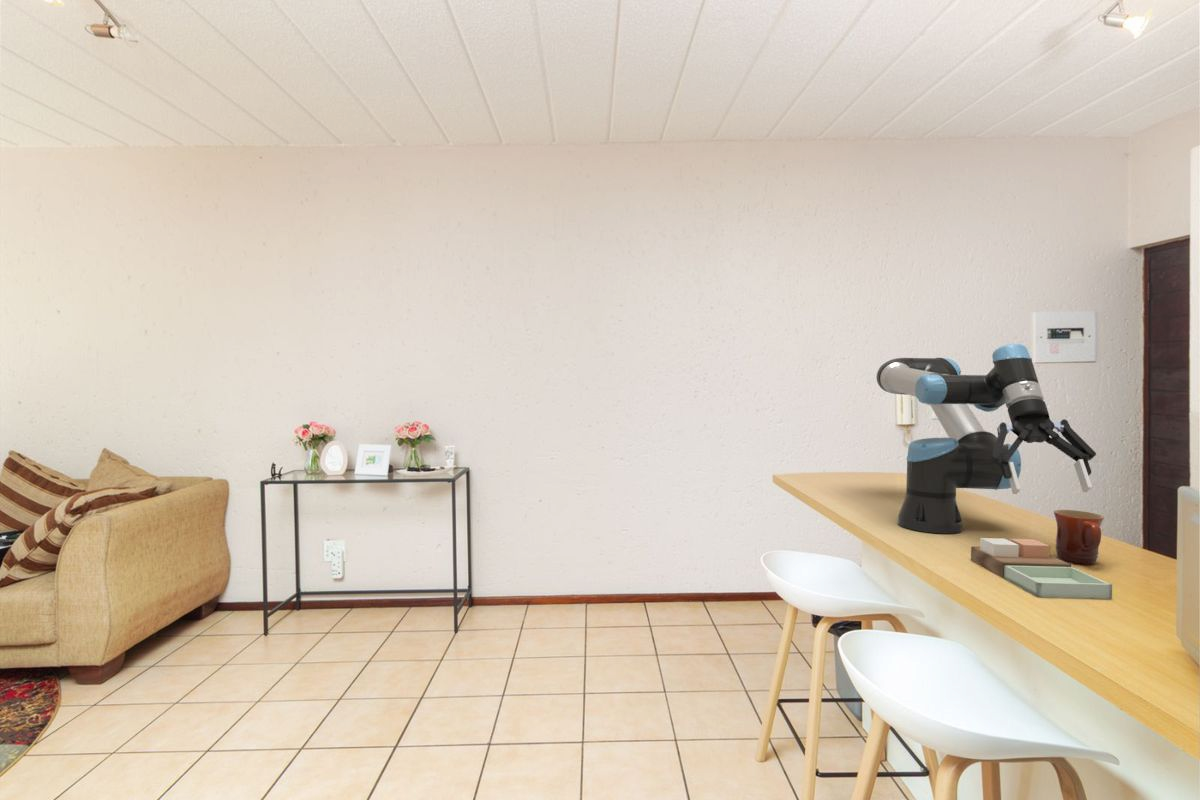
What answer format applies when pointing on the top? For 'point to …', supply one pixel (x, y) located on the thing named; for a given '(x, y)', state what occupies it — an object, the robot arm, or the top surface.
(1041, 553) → the tile terracotta
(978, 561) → the board
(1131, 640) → the top surface
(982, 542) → the tile white
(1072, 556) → the mug
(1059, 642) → the top surface
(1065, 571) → the tray
